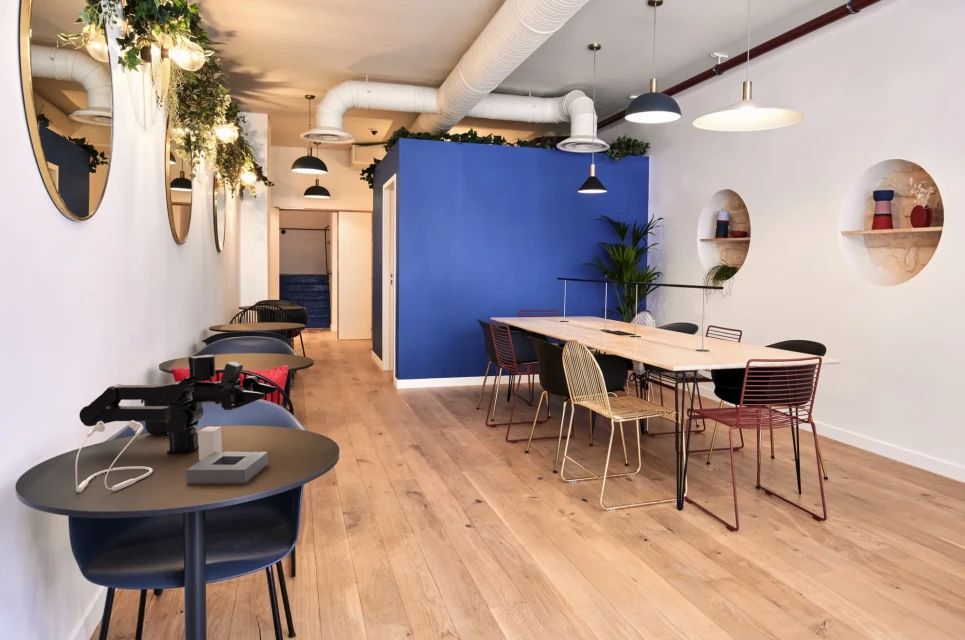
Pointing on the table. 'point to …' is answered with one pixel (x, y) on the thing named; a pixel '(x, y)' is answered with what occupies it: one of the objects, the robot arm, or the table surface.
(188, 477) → the socket block
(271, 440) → the table surface
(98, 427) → the earphone
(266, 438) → the table surface
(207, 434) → the plug
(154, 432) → the carrying case or bag
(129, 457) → the table surface
